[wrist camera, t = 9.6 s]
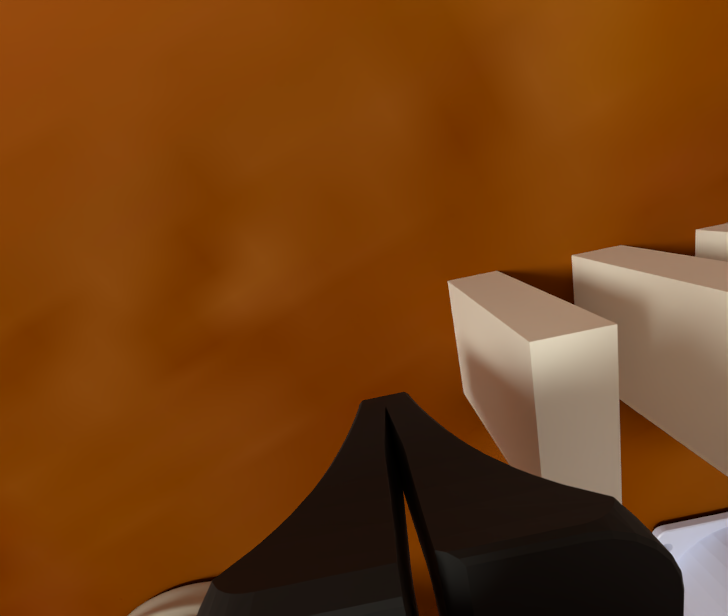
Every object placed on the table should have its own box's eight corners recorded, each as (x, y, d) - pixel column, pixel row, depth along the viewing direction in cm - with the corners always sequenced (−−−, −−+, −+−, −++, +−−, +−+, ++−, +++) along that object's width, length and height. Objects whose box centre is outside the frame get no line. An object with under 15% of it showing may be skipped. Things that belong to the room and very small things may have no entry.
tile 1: (509, 383, 17) (621, 505, 10) (463, 393, 17) (545, 521, 10) (497, 271, 15) (617, 323, 9) (447, 281, 15) (529, 342, 9)
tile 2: (623, 359, 17) (812, 466, 10) (578, 369, 17) (735, 482, 10) (621, 245, 15) (837, 278, 9) (571, 255, 15) (748, 296, 9)
